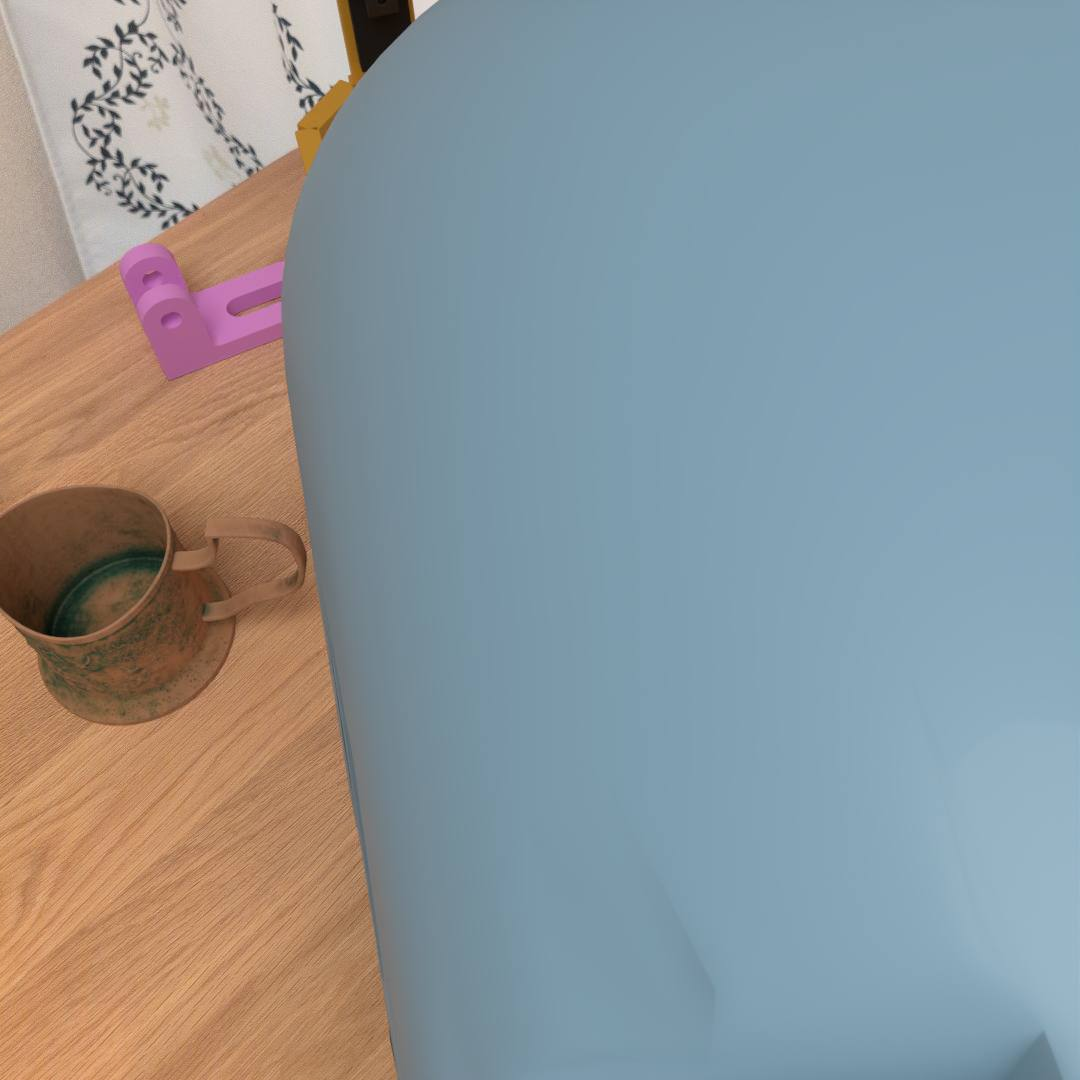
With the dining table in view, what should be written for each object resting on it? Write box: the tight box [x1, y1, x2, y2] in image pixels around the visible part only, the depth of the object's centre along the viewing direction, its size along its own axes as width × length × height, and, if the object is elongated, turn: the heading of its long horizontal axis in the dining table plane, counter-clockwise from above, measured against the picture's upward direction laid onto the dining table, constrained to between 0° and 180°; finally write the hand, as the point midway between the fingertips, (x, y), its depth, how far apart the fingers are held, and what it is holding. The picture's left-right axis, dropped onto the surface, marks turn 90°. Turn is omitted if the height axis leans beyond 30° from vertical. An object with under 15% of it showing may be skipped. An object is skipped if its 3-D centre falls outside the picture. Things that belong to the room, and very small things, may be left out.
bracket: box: [118, 243, 285, 382], centre depth 79 cm, size 13×6×7 cm, turn 117°
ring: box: [294, 0, 416, 177], centre depth 52 cm, size 10×10×9 cm
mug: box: [0, 483, 308, 727], centre depth 64 cm, size 12×18×12 cm, turn 90°
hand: (384, 52), depth 57 cm, fingers closed on ring
